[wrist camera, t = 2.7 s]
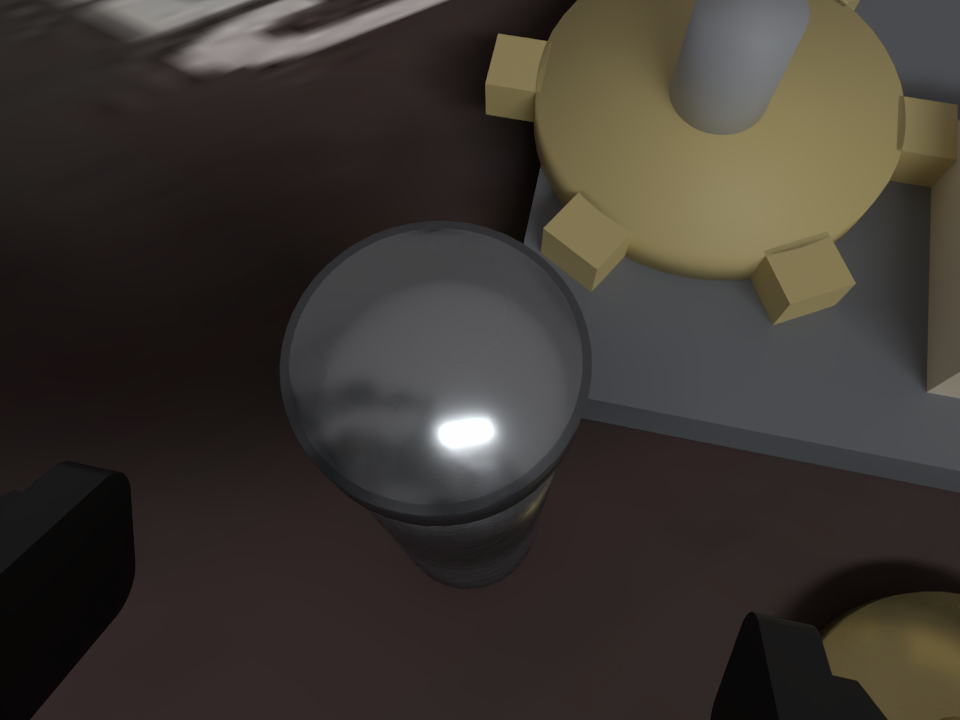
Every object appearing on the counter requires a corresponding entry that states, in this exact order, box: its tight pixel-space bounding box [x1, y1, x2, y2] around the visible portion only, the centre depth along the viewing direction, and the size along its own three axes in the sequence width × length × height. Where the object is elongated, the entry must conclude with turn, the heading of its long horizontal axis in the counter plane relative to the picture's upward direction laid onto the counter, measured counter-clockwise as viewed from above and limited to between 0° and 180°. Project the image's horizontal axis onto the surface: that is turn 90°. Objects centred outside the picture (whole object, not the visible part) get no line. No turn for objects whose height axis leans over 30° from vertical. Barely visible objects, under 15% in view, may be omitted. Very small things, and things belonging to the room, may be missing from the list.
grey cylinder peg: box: [280, 221, 592, 589], centre depth 14 cm, size 3×3×11 cm
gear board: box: [485, 0, 960, 493], centre depth 19 cm, size 20×14×6 cm
